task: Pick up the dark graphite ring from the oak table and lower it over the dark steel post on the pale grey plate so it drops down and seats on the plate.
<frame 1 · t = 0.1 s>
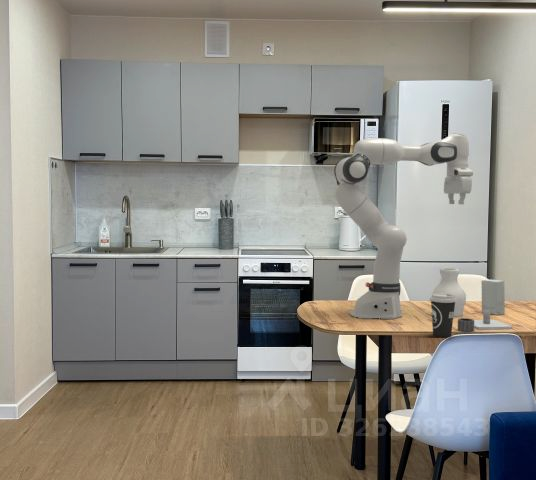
hand: (456, 204, 279), 48 cm above the table, fingers open, 8 cm apart
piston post: (486, 325, 257), on the table
skincare box: (492, 313, 285), on the table
vase: (448, 315, 281), on the table
ring: (465, 330, 249), on the table
coffee cup: (442, 335, 239), on the table
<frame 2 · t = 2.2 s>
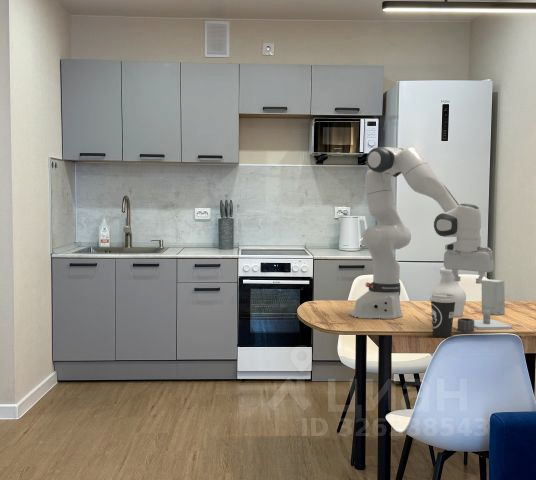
hand: (467, 282, 248), 18 cm above the table, fingers open, 8 cm apart
nothing on the table moved.
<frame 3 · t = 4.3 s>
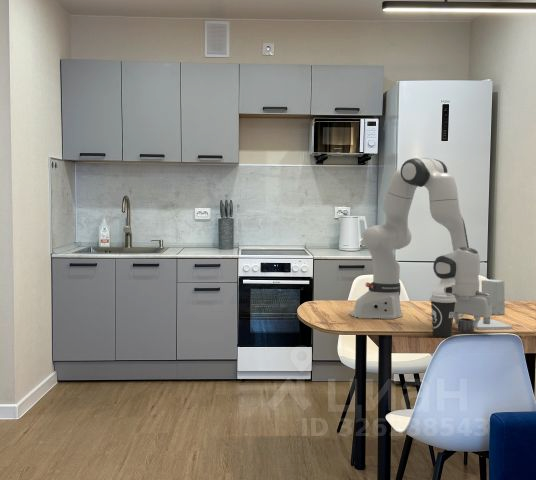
hand: (465, 325, 249), 2 cm above the table, fingers closed on ring, 6 cm apart
ring: (465, 330, 249), on the table, touching gripper
everything else where it was.
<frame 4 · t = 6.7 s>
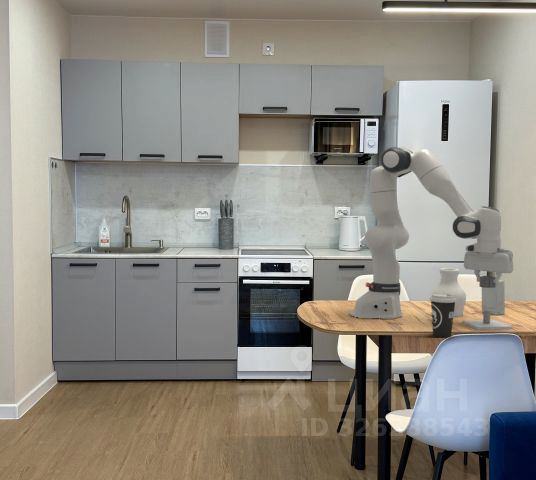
hand: (487, 282, 256), 17 cm above the table, fingers closed on ring, 6 cm apart
ring: (487, 286, 256), point 16 cm above the table, touching gripper
everything else where it was.
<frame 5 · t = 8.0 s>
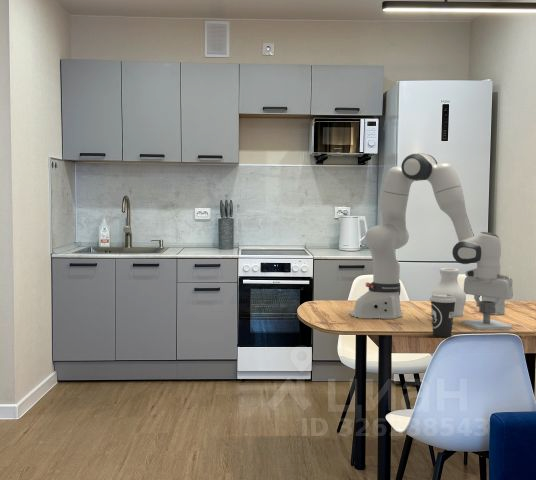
hand: (487, 308, 257), 7 cm above the table, fingers closed on ring, 6 cm apart
ring: (487, 312, 257), point 6 cm above the table, touching gripper
everything else where it was.
when the fingers open (4 cm above the table, at t = 9.0 s): ring drops 1 cm, resting on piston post.
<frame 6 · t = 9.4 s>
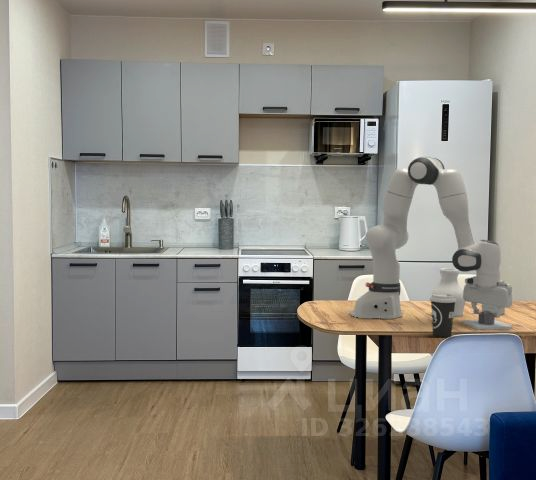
hand: (486, 315, 257), 4 cm above the table, fingers open, 8 cm apart
ring: (486, 323, 257), point 1 cm above the table, touching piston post
everything else where it was.
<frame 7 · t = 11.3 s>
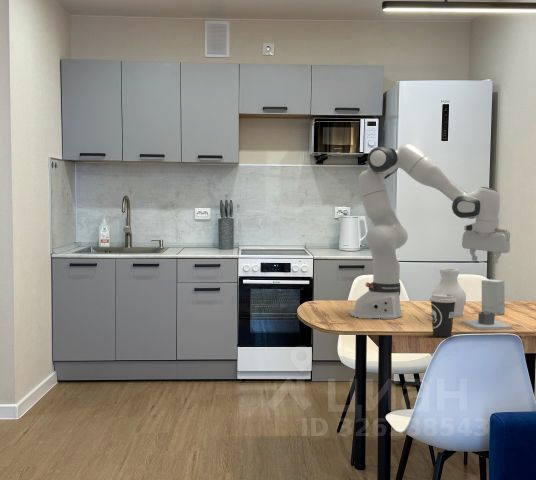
hand: (484, 261, 261), 25 cm above the table, fingers open, 8 cm apart
nothing on the table moved.
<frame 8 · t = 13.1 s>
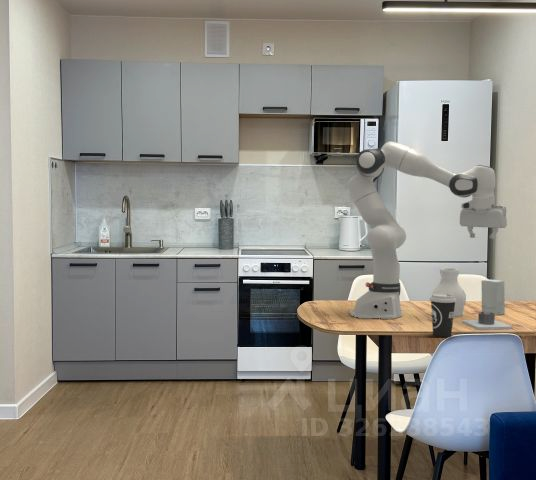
hand: (482, 238, 267), 34 cm above the table, fingers open, 8 cm apart
nothing on the table moved.
at the end: ring 0.1 cm off-centre on the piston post, point 1.0 cm above the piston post's base; the gripper is holding nothing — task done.
